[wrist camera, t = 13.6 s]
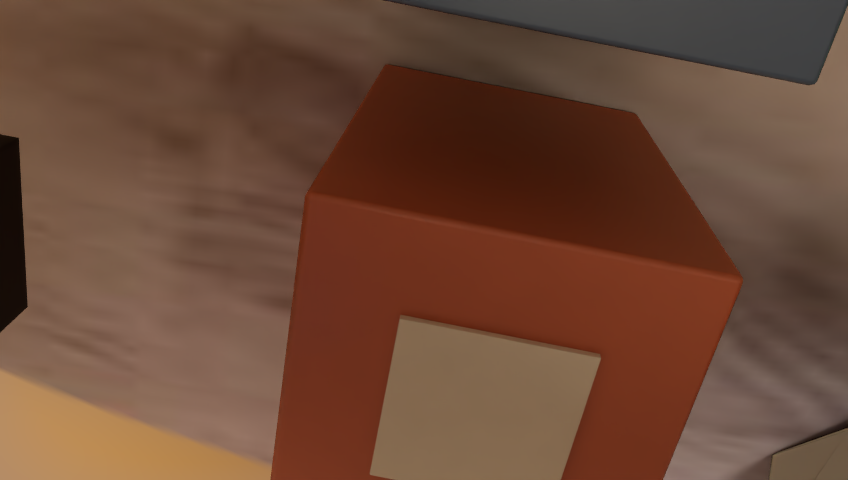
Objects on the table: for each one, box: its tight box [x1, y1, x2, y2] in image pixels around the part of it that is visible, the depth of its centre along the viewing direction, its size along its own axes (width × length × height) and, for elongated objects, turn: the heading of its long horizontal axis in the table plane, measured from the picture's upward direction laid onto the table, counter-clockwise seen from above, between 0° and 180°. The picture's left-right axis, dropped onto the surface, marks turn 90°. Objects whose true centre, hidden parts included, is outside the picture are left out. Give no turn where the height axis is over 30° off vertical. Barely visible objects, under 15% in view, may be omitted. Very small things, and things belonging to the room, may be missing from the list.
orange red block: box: [271, 65, 743, 480], centre depth 13 cm, size 5×5×7 cm
